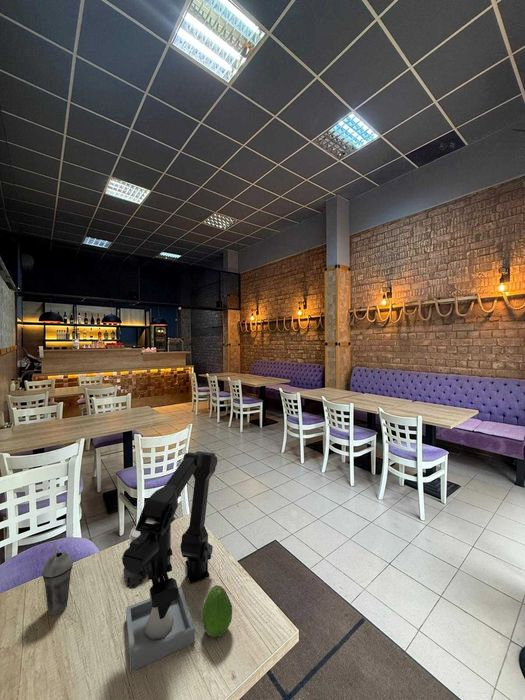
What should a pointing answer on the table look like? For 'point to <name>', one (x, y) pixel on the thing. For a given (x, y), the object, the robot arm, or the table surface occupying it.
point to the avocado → (216, 612)
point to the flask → (158, 624)
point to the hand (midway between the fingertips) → (158, 604)
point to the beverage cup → (57, 581)
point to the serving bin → (152, 650)
